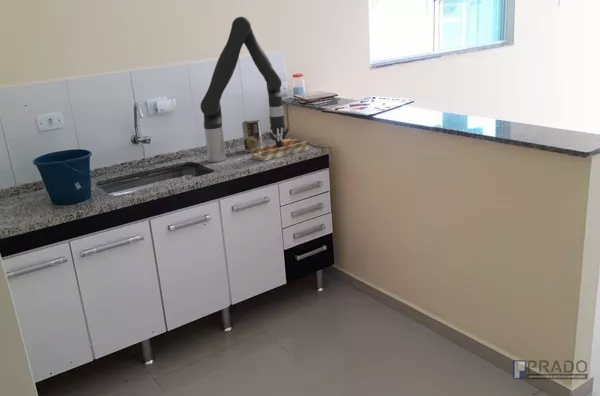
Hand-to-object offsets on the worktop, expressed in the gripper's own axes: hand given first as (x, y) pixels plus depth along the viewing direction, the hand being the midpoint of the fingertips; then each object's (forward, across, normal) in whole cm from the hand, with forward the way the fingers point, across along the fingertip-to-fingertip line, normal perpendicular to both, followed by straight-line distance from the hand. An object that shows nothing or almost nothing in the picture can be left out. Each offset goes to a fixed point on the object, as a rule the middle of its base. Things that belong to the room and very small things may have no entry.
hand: (279, 147), depth 290 cm
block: (+1, +5, 0) cm, 5 cm away
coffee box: (+4, -4, +20) cm, 21 cm away
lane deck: (+4, +1, 0) cm, 4 cm away
